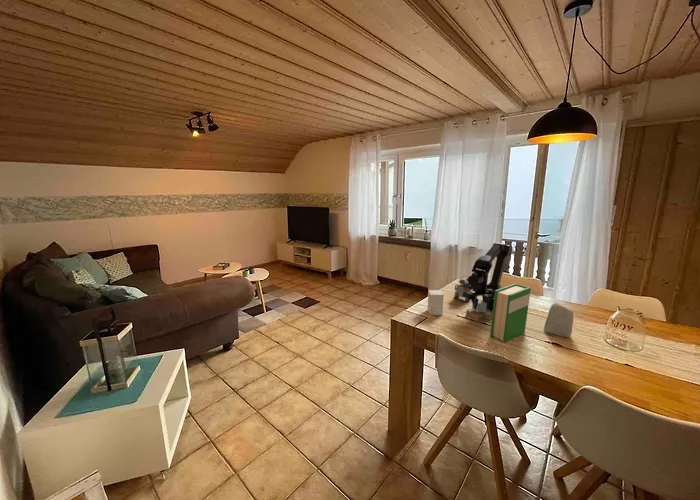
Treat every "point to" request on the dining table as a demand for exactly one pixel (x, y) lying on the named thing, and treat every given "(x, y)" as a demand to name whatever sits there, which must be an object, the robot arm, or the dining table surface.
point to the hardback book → (510, 312)
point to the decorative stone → (559, 321)
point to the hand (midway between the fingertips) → (479, 308)
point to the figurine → (461, 288)
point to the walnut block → (478, 315)
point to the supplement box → (435, 302)
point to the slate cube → (480, 306)
